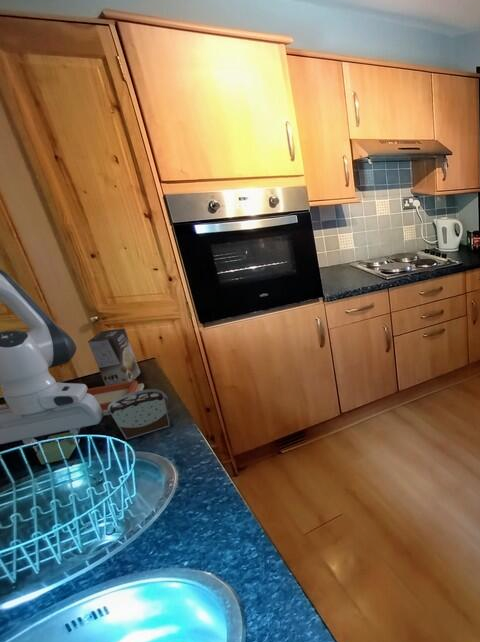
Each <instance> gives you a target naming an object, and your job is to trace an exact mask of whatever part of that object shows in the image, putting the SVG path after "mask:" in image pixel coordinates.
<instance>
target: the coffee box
mask: <svg viewBox="0 0 480 642" xmlns="http://www.w3.org/2000/svg"><path fill="white" fill-rule="evenodd" d="M87 343H88V345H89V348H90V350H91V353H92V355H93V358H94V360H95V363H96V365H97V368H98V370H99V373H100V376H101V378H102V380H103V383H104V386H107V385H113V384H118V383H124V382H130V381H135V380H136V379H137V378H138V377H139V376H140V374H141V370H140V367H139V364H138V363H137V359H136V356H135V354H134V350H133V348H132V345H131V343H130V340H129V337H128V334H127V332H126V329H125V328H116V329H109V330H102V331H100V332H98V333H97V334H96V335H94V336H93V337H92V338H91V339H89V340H88V341H87Z"/></svg>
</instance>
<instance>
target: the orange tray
mask: <svg viewBox="0 0 480 642" xmlns="http://www.w3.org/2000/svg"><path fill="white" fill-rule="evenodd" d="M144 388H145V385H144V383H138V380H136V379H135V380H134V381H130V382H124V383H118V384H113V385H107V386H106V385H102V386H96V387H91V388H88V390H87V393H88V394H91V395H93V396H94V397H95V398H96V400H97V401H98V403H99V405H100V406H101V408H102V410H103V413H104V416H103V417H105V416H108V413H107V409H108V406H109V404H110V403H111V402H113V401H114V400H116V399H117V398H119V397H121V396H124V395H126V394H129V393H132V392H136V391H141V390H144ZM109 416H111V414H110V413H109Z"/></svg>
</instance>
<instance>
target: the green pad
mask: <svg viewBox="0 0 480 642" xmlns="http://www.w3.org/2000/svg"><path fill="white" fill-rule="evenodd" d="M73 434H74V432H73V433H70V431H69V432H68V431H67V432H63V433H58V434H54V435H53V434H52V435H49V436H48V438H47V439H50V438H57V437H63V436H70V435H73ZM59 443H60V446H61V448H62V451H63V453H64V455H65V458H66V459H65V460H68V459H70V457H71V456H72V455H73V453H74V451H75V449H76V447H77V445H76V444H74V445H70V443H69V441H68V439H64V440H61V441H60V442H59ZM57 444H58V442H57V441H54V442H50V443H45V442H44V445H43V446H42V447H43V450H44V454H45V456H46V458H47V461H48V463H47V464H50V463H54V462H61V461H64V460H63V458H62V457H61V454H60V451H59V448H58V445H57ZM36 457H37V459H38V461H39V463H40V464H41V465H46V464H45V462H44V460H43V457H42V454H41V451H40V450H39V452H37V453H36Z"/></svg>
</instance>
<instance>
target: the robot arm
mask: <svg viewBox="0 0 480 642" xmlns="http://www.w3.org/2000/svg"><path fill="white" fill-rule="evenodd" d="M0 302H1V303H2V304H5V305H6V306H7V307H8V308H9V309H10V311H12V313H14V315H15V316H16V317H17V318H18V319H19V320H20V321H21V322H22V323H23V324H24V325H25V326H26V327H27V328H28V329H29V330H28V331H22V330H4V331H0V389H1V395H2V397H3V399H4V401H5V403H1V404H0V445H3V444H8V443H13V442H18V441H22V443H23V444H24V445H27V444H28V443H32V442H37V441H38V440H37V439H35V438H37V437H42V436H47V435H53V434H56V433H61V432H68V431H69V432H70V433H73V432H74V434H73V436H74V435H78V436H79V433H80V431H81V428H87V427H90V426H95V425H99V424H100V423H101V421H102V420H103V418H104V417H105V416H104V413H103V410H102V408H101V406H100V405H99V403H98V401H97V400H96V398H95V397H94V396H93V395H91V394H88V393H87V390H88V389H89V388H88V386H87V385H86V384H85V383H73V382H71V383H70V382H57V381H56V379H55V377H54V376H53V375H52V374H51V373H50V371H49V369H51V368H56V367H59V366H64V365H67V364H69V362H71V360H72V359H73V358H74V356H75V355H76V352H77V345H76V343H75V341H74V339H73V338H72V337H71V336H70V334H68V333H67V332H66V330H64V329H63V328H62V327H61V326H60V325H58V324H57V323H56V322H55V321H54V320H53V319H52V318H51V317H50V316H49V314H47V312H46V311H45V310H44V309H42V307H41V306H40V305H39V304H38V303H37V302H36V301H35V299H33V298H32V296H31V295H30V294H29V293H28V292H27V291H26V290H25V289H24V288H23V287H22V286H21V285H20V284H19V283H18V282H17V281H16V280H15V279H14V278H13V277H12V276H11V275H10V274H8V273H7V272H6V271H4V270H3V269H1V268H0ZM80 440H81V439H80V438H79V439H78V444H79V443H80ZM68 441H69V443H70V445H74V444H76V443H75V439H74V438H71V439H68ZM43 445H44V444H42V446H43ZM32 448H33V450H34V452H35V453H36V454H37V453H38V452H39V446H38V445H37V446H33V447H32Z"/></svg>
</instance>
